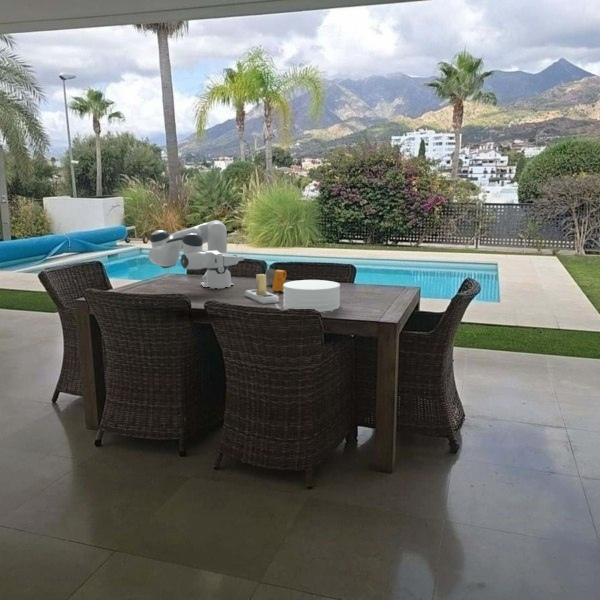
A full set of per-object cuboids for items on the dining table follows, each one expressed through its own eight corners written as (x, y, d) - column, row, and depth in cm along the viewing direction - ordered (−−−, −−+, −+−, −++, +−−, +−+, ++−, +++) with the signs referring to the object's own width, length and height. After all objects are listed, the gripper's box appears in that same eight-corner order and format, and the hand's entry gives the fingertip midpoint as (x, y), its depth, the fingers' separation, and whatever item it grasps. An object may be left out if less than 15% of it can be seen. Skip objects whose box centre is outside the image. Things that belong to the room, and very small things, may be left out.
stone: (287, 286, 346) (287, 270, 344) (282, 287, 342) (281, 270, 340) (269, 283, 356) (269, 267, 354) (264, 284, 353) (264, 268, 351)
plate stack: (337, 301, 303) (337, 279, 301) (342, 313, 276) (342, 289, 273) (283, 301, 302) (283, 280, 300) (283, 313, 275) (283, 289, 272)
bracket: (283, 293, 325) (283, 271, 323) (272, 292, 329) (272, 271, 326) (292, 290, 335) (292, 269, 332) (281, 289, 338) (281, 268, 336)
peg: (256, 298, 310) (256, 274, 307) (263, 298, 311) (263, 274, 309) (259, 300, 306) (259, 275, 304) (266, 299, 308) (266, 275, 305)
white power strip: (245, 295, 317) (245, 290, 317) (260, 294, 321) (260, 289, 321) (262, 303, 296) (262, 298, 296) (278, 302, 300) (278, 296, 300)
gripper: (207, 263, 302) (232, 261, 308) (221, 268, 284) (247, 266, 290) (207, 250, 301) (232, 249, 307) (220, 255, 283) (247, 253, 289)
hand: (239, 257), depth 298 cm, fingers open, 8 cm apart
